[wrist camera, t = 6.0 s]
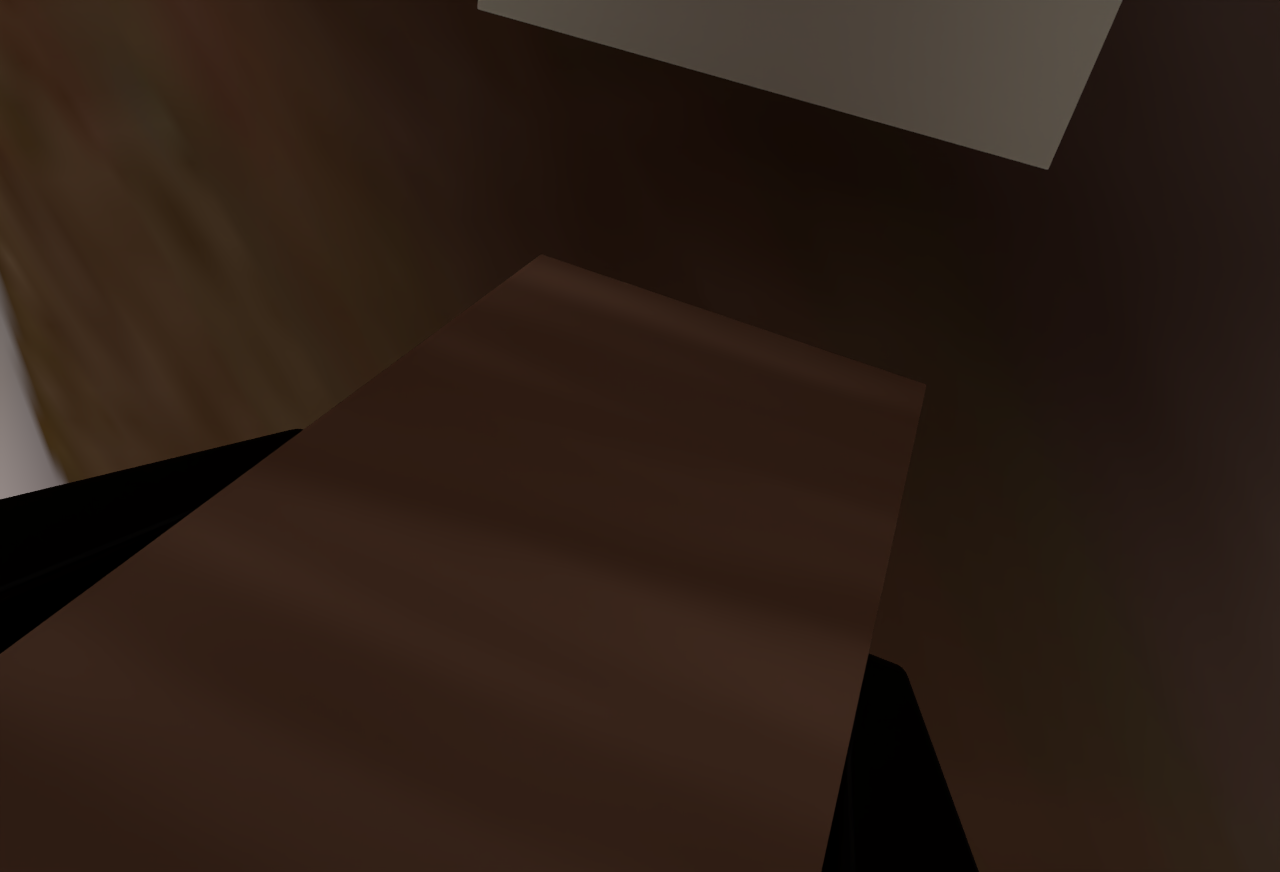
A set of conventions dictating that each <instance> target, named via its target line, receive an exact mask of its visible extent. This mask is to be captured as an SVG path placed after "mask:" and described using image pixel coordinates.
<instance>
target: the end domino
mask: <svg viewBox="0 0 1280 872" xmlns="http://www.w3.org/2000/svg"><path fill="white" fill-rule="evenodd" d="M925 390H926V384H923V383H920V382H917V381H915V380H912V379H909V378H906V377H903V376H900V375H897V374H894V373H891V372H888V371H885V370H882V369H879V368H876V367H873V366H870V365H867V364H864V363H861V362H858V361H855V360H852V359H849V358H847V357H844V356H841V355H838V354H835V353H832V352H829V351H826V350H823V349H820V348H817V347H814V346H811V345H808V344H805V343H802V342H799V341H796V340H793V339H790V338H787V337H784V336H782V335H779V334H776V333H773V332H770V331H767V330H764V329H761V328H758V327H755V326H752V325H749V324H746V323H743V322H740V321H737V320H734V319H731V318H728V317H725V316H722V315H719V314H716V313H714V312H711V311H708V310H705V309H702V308H699V307H696V306H693V305H690V304H687V303H684V302H681V301H678V300H675V299H672V298H669V297H666V296H663V295H660V294H657V293H654V292H651V291H649V290H646V289H643V288H640V287H637V286H634V285H631V284H628V283H625V282H622V281H619V280H616V279H613V278H610V277H607V276H604V275H601V274H598V273H595V272H592V271H589V270H586V269H584V268H581V267H578V266H575V265H572V264H569V263H566V262H563V261H560V260H557V259H554V258H551V257H548V256H545V255H542V254H541V255H539V256H538V257H537V258H535V259H534V260H533V261H531V262H530V263H529V264H527V265H526V266H524V267H523V268H522V269H520V270H519V271H518V272H516V273H515V274H514V275H512V276H511V277H510V278H508V279H507V280H506V281H504V282H503V283H501V284H500V285H499V286H497V287H496V288H495V289H493V290H492V291H491V292H489V293H488V294H487V295H485V296H484V297H483V298H481V299H480V300H478V301H477V302H476V303H474V304H473V305H472V306H470V307H469V308H468V309H466V310H465V311H464V312H462V313H461V314H460V315H458V316H457V317H455V318H454V319H453V320H451V321H450V322H449V323H447V324H446V325H445V326H443V327H442V328H441V329H439V330H438V331H437V332H435V333H434V334H432V335H431V336H430V337H428V338H427V339H426V340H424V341H423V342H422V343H420V344H419V345H418V346H416V347H415V348H414V349H412V350H411V351H409V352H408V353H407V354H405V355H404V356H403V357H401V358H400V359H399V360H397V361H396V362H395V363H393V364H392V365H391V366H389V367H388V368H386V369H385V370H384V371H382V372H381V373H380V374H378V375H377V376H376V377H374V378H373V379H372V380H370V381H369V382H368V383H366V384H365V385H363V386H362V387H361V388H359V389H358V390H357V391H355V392H354V393H353V394H351V395H350V396H349V397H347V398H346V399H345V400H343V401H342V402H340V403H339V404H338V405H336V406H335V407H334V408H332V409H331V410H330V411H328V412H327V413H326V414H324V415H323V416H322V417H320V418H319V419H317V420H316V421H315V422H313V423H312V424H311V425H309V426H308V427H307V428H305V429H304V430H303V431H301V432H300V433H299V434H297V435H296V436H294V437H293V438H292V439H290V440H289V441H288V442H286V443H285V444H284V445H282V446H281V447H280V448H278V449H277V450H276V451H274V452H273V453H271V454H270V455H269V456H267V457H266V458H265V459H263V460H262V461H261V462H259V463H258V464H257V465H255V466H254V467H253V468H251V469H250V470H248V471H247V472H246V473H244V474H243V475H242V476H240V477H239V478H238V479H236V480H235V481H234V482H232V483H231V484H230V485H228V486H227V487H225V488H224V489H223V490H221V491H220V492H219V493H217V494H216V495H215V496H213V497H212V498H211V499H209V500H208V501H207V502H205V503H204V504H202V505H201V506H200V507H198V508H197V509H196V510H194V511H193V512H192V513H190V514H189V515H188V516H186V517H185V518H184V519H182V520H181V521H179V522H178V523H177V524H175V525H174V526H173V527H171V528H170V529H169V530H167V531H166V532H165V533H163V534H162V535H161V536H159V537H158V538H156V539H155V540H154V541H152V542H151V543H150V544H148V545H147V546H146V547H144V548H143V549H142V550H140V551H139V552H138V553H136V554H135V555H133V556H132V557H131V558H129V559H128V560H127V561H125V562H124V563H123V564H121V565H120V566H119V567H117V568H116V569H115V570H113V571H112V572H110V573H109V574H108V575H106V576H105V577H104V578H102V579H101V580H100V581H98V582H97V583H96V584H94V585H93V586H92V587H90V588H89V589H87V590H86V591H85V592H83V593H82V594H81V595H79V596H78V597H77V598H75V599H74V600H73V601H71V602H70V603H69V604H67V605H66V606H64V607H63V608H62V609H60V610H59V611H58V612H56V613H55V614H54V615H52V616H51V617H50V618H48V619H47V620H46V621H44V622H43V623H41V624H40V625H39V626H37V627H36V628H35V629H33V630H32V631H31V632H29V633H28V634H27V635H25V636H24V637H23V638H21V639H20V640H18V641H17V642H16V643H14V644H13V645H12V646H10V647H9V648H8V649H6V650H5V651H4V652H2V653H1V654H0V872H821V871H822V866H823V861H824V857H825V852H826V848H827V843H828V838H829V834H830V829H831V824H832V820H833V815H834V811H835V806H836V801H837V797H838V792H839V787H840V783H841V778H842V774H843V769H844V764H845V760H846V755H847V750H848V746H849V741H850V737H851V732H852V727H853V723H854V718H855V713H856V709H857V704H858V700H859V695H860V690H861V686H862V681H863V677H864V672H865V667H866V663H867V658H868V653H869V649H870V644H871V640H872V635H873V630H874V626H875V621H876V616H877V612H878V607H879V603H880V598H881V593H882V589H883V584H884V579H885V575H886V570H887V566H888V561H889V556H890V552H891V547H892V542H893V538H894V533H895V529H896V524H897V519H898V515H899V510H900V505H901V501H902V496H903V492H904V487H905V482H906V478H907V473H908V469H909V464H910V459H911V455H912V450H913V445H914V441H915V436H916V432H917V427H918V422H919V418H920V413H921V408H922V404H923V399H924V395H925Z"/></svg>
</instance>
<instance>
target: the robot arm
mask: <svg viewBox="0 0 1280 872" xmlns="http://www.w3.org/2000/svg"><path fill="white" fill-rule="evenodd" d="M301 431H303V429H293V430H288V431H284V432H280V433H276V434H271V435H267V436H263V437H259V438H255V439H251V440H246V441H242V442H238V443H234V444H230V445H226V446H221V447H217V448H213V449H209V450H205V451H201V452H196V453H192V454H188V455H184V456H180V457H176V458H171V459H167V460H163V461H159V462H155V463H151V464H146V465H142V466H138V467H134V468H130V469H126V470H121V471H117V472H113V473H109V474H105V475H101V476H96V477H92V478H88V479H84V480H80V481H75V482H71V483H67V484H63V485H59V486H55V487H50V488H46V489H42V490H38V491H34V492H30V493H25V494H21V495H17V496H13V497H9V498H5V499H0V654H1V653H2V652H4V651H5V650H6V649H8V648H9V647H10V646H12V645H13V644H14V643H16V642H17V641H18V640H20V639H21V638H23V637H24V636H25V635H27V634H28V633H29V632H31V631H32V630H33V629H35V628H36V627H37V626H39V625H40V624H41V623H43V622H44V621H46V620H47V619H48V618H50V617H51V616H52V615H54V614H55V613H56V612H58V611H59V610H60V609H62V608H63V607H64V606H66V605H67V604H69V603H70V602H71V601H73V600H74V599H75V598H77V597H78V596H79V595H81V594H82V593H83V592H85V591H86V590H87V589H89V588H90V587H92V586H93V585H94V584H96V583H97V582H98V581H100V580H101V579H102V578H104V577H105V576H106V575H108V574H109V573H110V572H112V571H113V570H115V569H116V568H117V567H119V566H120V565H121V564H123V563H124V562H125V561H127V560H128V559H129V558H131V557H132V556H133V555H135V554H136V553H138V552H139V551H140V550H142V549H143V548H144V547H146V546H147V545H148V544H150V543H151V542H152V541H154V540H155V539H156V538H158V537H159V536H161V535H162V534H163V533H165V532H166V531H167V530H169V529H170V528H171V527H173V526H174V525H175V524H177V523H178V522H179V521H181V520H182V519H184V518H185V517H186V516H188V515H189V514H190V513H192V512H193V511H194V510H196V509H197V508H198V507H200V506H201V505H202V504H204V503H205V502H207V501H208V500H209V499H211V498H212V497H213V496H215V495H216V494H217V493H219V492H220V491H221V490H223V489H224V488H225V487H227V486H228V485H230V484H231V483H232V482H234V481H235V480H236V479H238V478H239V477H240V476H242V475H243V474H244V473H246V472H247V471H248V470H250V469H251V468H253V467H254V466H255V465H257V464H258V463H259V462H261V461H262V460H263V459H265V458H266V457H267V456H269V455H270V454H271V453H273V452H274V451H276V450H277V449H278V448H280V447H281V446H282V445H284V444H285V443H286V442H288V441H289V440H290V439H292V438H293V437H294V436H296V435H297V434H299V433H300V432H301ZM821 872H979V871H978V868H977V866H976V863H975V860H974V857H973V855H972V852H971V849H970V846H969V844H968V841H967V838H966V835H965V833H964V830H963V827H962V824H961V822H960V819H959V816H958V813H957V811H956V808H955V805H954V802H953V800H952V797H951V794H950V791H949V789H948V786H947V783H946V780H945V778H944V775H943V772H942V769H941V767H940V764H939V761H938V758H937V756H936V753H935V750H934V747H933V745H932V742H931V739H930V736H929V734H928V731H927V728H926V725H925V723H924V720H923V717H922V714H921V712H920V709H919V706H918V703H917V701H916V698H915V695H914V692H913V689H912V687H911V684H910V681H909V678H908V676H907V674H906V672H905V670H904V669H903V668H902V667H900V666H899V665H897V664H894V663H892V662H889V661H887V660H884V659H882V658H879V657H877V656H874V655H872V654H869V653H868V658H867V663H866V667H865V672H864V677H863V681H862V686H861V690H860V695H859V700H858V704H857V709H856V713H855V718H854V723H853V727H852V732H851V737H850V741H849V746H848V750H847V755H846V760H845V764H844V769H843V774H842V778H841V783H840V787H839V792H838V797H837V801H836V806H835V811H834V815H833V820H832V824H831V829H830V834H829V838H828V843H827V848H826V852H825V857H824V861H823V866H822V871H821Z"/></svg>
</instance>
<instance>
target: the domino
mask: <svg viewBox="0 0 1280 872" xmlns="http://www.w3.org/2000/svg"><path fill="white" fill-rule="evenodd" d="M1121 3H1122V0H478V7H477V9H479V10H483V11H486V12H490V13H493V14H497V15H500V16H504V17H508V18H511V19H515V20H518V21H522V22H525V23H529V24H532V25H536V26H539V27H543V28H547V29H550V30H554V31H557V32H561V33H564V34H568V35H571V36H575V37H578V38H582V39H586V40H589V41H593V42H596V43H600V44H603V45H607V46H610V47H614V48H617V49H621V50H625V51H628V52H632V53H635V54H639V55H642V56H646V57H649V58H653V59H656V60H660V61H664V62H667V63H671V64H674V65H678V66H681V67H685V68H688V69H692V70H695V71H699V72H703V73H706V74H710V75H713V76H717V77H720V78H724V79H727V80H731V81H734V82H738V83H742V84H745V85H749V86H752V87H756V88H759V89H763V90H766V91H770V92H773V93H777V94H781V95H784V96H788V97H791V98H795V99H798V100H802V101H805V102H809V103H812V104H816V105H820V106H823V107H827V108H830V109H834V110H837V111H841V112H844V113H848V114H851V115H855V116H859V117H862V118H866V119H869V120H873V121H876V122H880V123H883V124H887V125H890V126H894V127H898V128H901V129H905V130H908V131H912V132H915V133H919V134H922V135H926V136H929V137H933V138H937V139H940V140H944V141H947V142H951V143H954V144H958V145H961V146H965V147H968V148H972V149H976V150H979V151H983V152H986V153H990V154H993V155H997V156H1000V157H1004V158H1007V159H1011V160H1015V161H1018V162H1022V163H1025V164H1029V165H1032V166H1036V167H1039V168H1043V169H1046V170H1048V169H1049V167H1050V164H1051V162H1052V160H1053V158H1054V155H1055V153H1056V151H1057V148H1058V146H1059V144H1060V142H1061V139H1062V137H1063V135H1064V132H1065V130H1066V128H1067V126H1068V123H1069V121H1070V119H1071V117H1072V114H1073V112H1074V110H1075V107H1076V105H1077V103H1078V101H1079V98H1080V96H1081V94H1082V91H1083V89H1084V87H1085V85H1086V82H1087V80H1088V78H1089V75H1090V73H1091V71H1092V69H1093V66H1094V64H1095V62H1096V60H1097V57H1098V55H1099V53H1100V50H1101V48H1102V46H1103V44H1104V41H1105V39H1106V37H1107V34H1108V32H1109V30H1110V28H1111V25H1112V23H1113V21H1114V19H1115V16H1116V14H1117V12H1118V9H1119V7H1120V5H1121Z"/></svg>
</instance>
